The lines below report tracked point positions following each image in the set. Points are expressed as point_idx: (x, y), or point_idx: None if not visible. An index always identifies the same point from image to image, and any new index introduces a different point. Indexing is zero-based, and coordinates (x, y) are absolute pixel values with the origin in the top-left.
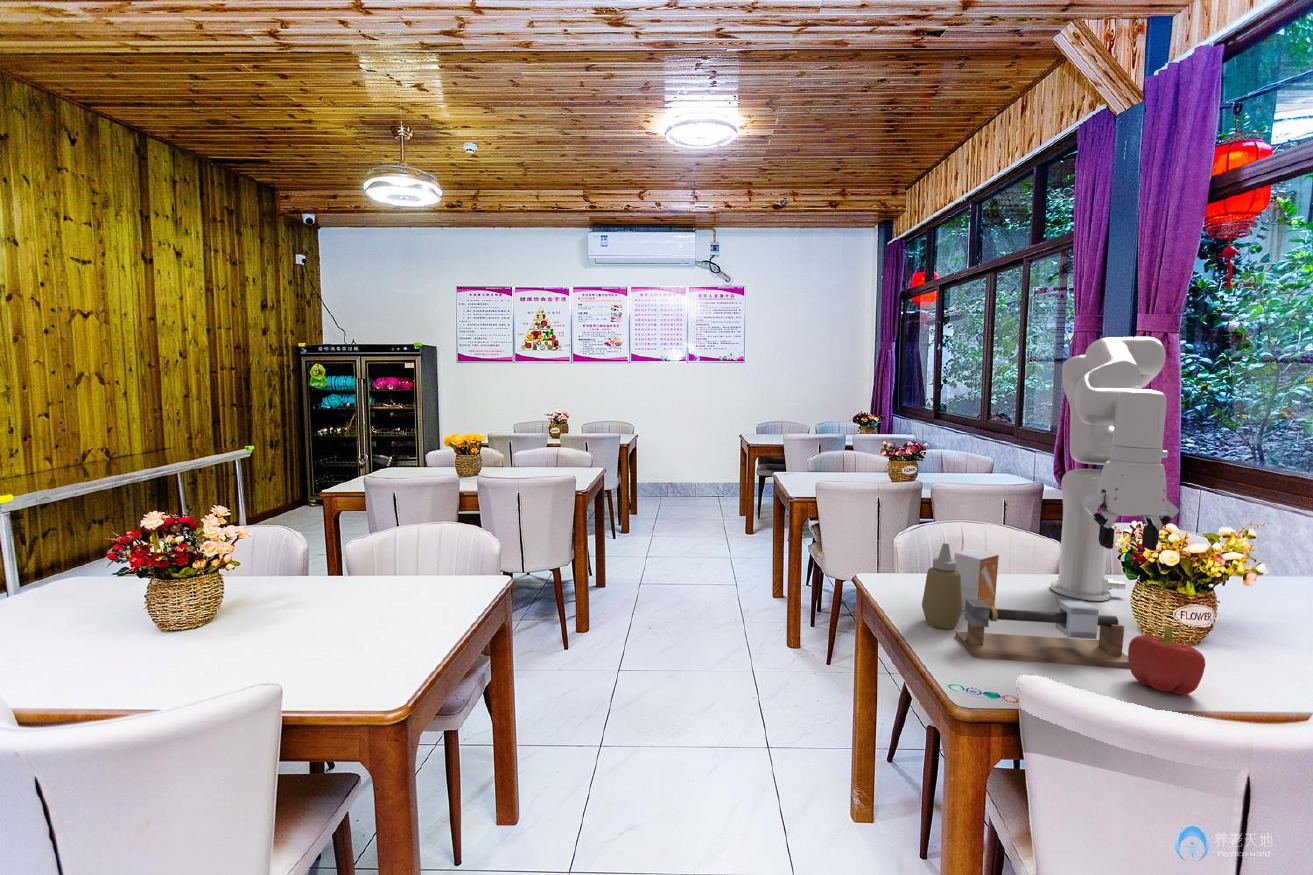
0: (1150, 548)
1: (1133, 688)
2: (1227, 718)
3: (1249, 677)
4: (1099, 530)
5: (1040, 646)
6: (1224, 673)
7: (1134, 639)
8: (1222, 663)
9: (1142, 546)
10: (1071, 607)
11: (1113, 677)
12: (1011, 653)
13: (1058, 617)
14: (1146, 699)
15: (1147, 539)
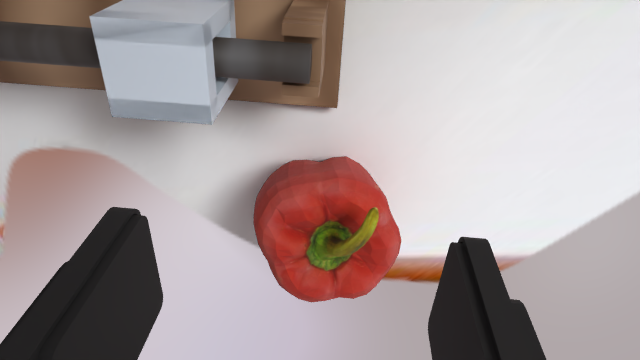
0: (432, 323)
1: None
2: None
3: (599, 131)
4: (9, 334)
5: None
6: (554, 114)
7: (259, 226)
8: (624, 52)
9: (450, 245)
10: (117, 108)
11: (247, 150)
12: (22, 76)
13: None
14: None
15: (451, 348)
